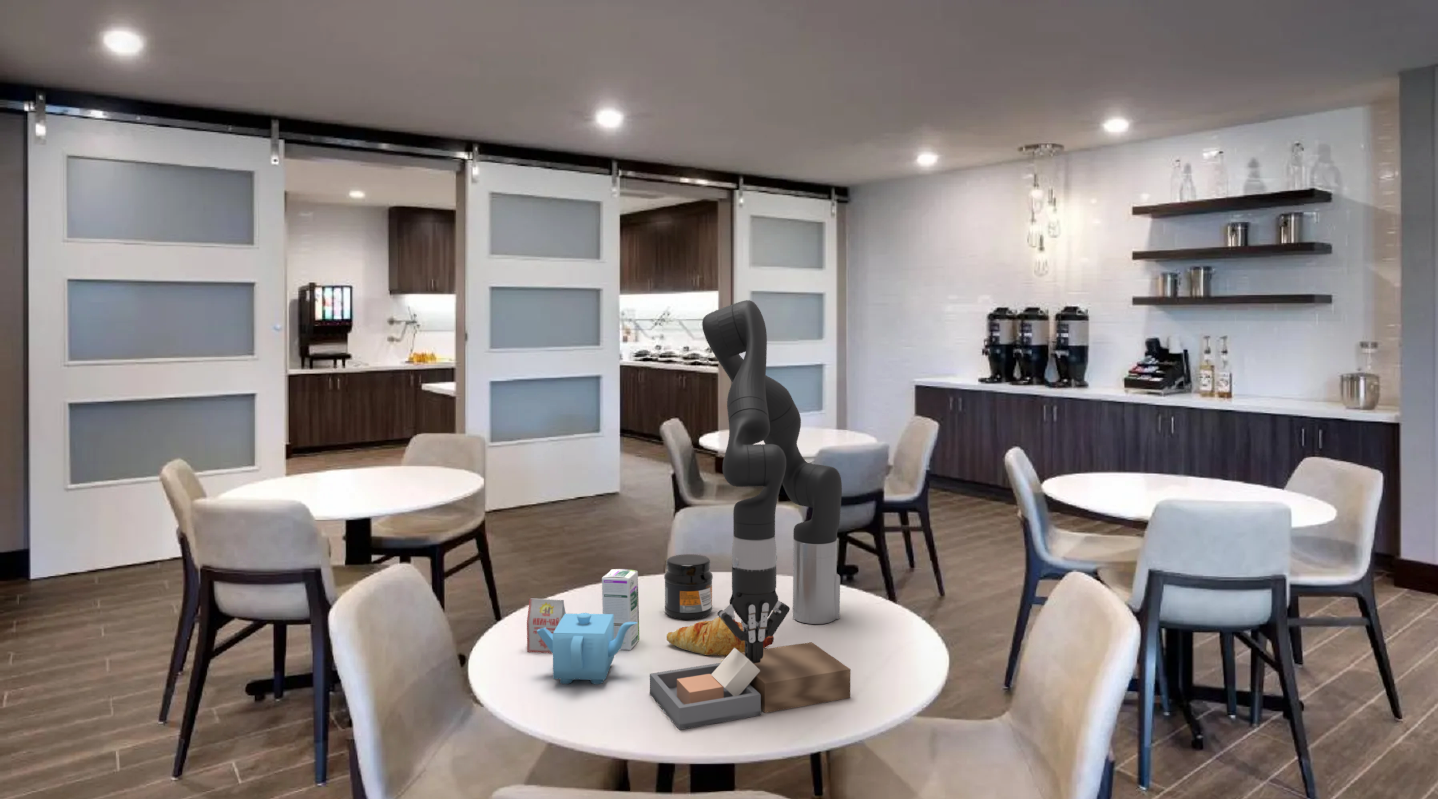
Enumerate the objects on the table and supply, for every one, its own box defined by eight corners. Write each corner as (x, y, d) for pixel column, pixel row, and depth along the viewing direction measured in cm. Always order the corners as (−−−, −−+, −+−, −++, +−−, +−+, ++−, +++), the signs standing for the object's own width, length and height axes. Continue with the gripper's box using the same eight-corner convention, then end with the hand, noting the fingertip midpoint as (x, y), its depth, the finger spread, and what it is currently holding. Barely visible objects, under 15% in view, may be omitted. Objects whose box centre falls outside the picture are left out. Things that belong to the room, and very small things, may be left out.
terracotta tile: (676, 679, 153) (676, 696, 153) (689, 692, 148) (689, 710, 148) (709, 673, 155) (709, 690, 156) (723, 686, 150) (723, 704, 150)
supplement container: (715, 620, 194) (715, 565, 193) (666, 622, 193) (666, 566, 192) (709, 604, 205) (709, 552, 204) (662, 606, 203) (662, 554, 202)
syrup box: (631, 650, 176) (630, 577, 175) (602, 648, 178) (601, 575, 176) (639, 640, 182) (639, 569, 181) (611, 638, 183) (610, 567, 182)
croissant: (664, 668, 177) (659, 640, 173) (671, 629, 185) (667, 601, 181) (773, 671, 174) (771, 642, 170) (775, 631, 183) (774, 602, 178)
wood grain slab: (811, 668, 168) (811, 642, 167) (850, 697, 155) (850, 669, 154) (731, 681, 162) (731, 654, 161) (764, 713, 149) (765, 683, 148)
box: (725, 681, 162) (725, 662, 161) (760, 715, 148) (760, 694, 148) (649, 693, 156) (649, 673, 156) (679, 729, 143) (679, 708, 142)
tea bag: (534, 645, 180) (533, 595, 179) (567, 647, 179) (566, 597, 178) (527, 651, 176) (526, 601, 175) (560, 653, 175) (560, 603, 174)
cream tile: (745, 658, 157) (734, 647, 156) (760, 670, 151) (749, 659, 150) (722, 685, 155) (710, 674, 154) (736, 698, 150) (724, 687, 149)
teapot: (547, 659, 172) (546, 600, 171) (642, 660, 172) (642, 601, 171) (527, 693, 156) (526, 629, 155) (632, 695, 156) (631, 630, 155)
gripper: (779, 552, 159) (779, 648, 161) (709, 560, 154) (709, 659, 156) (799, 563, 153) (798, 663, 154) (726, 571, 148) (726, 675, 149)
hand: (753, 661), depth 155 cm, fingers closed
